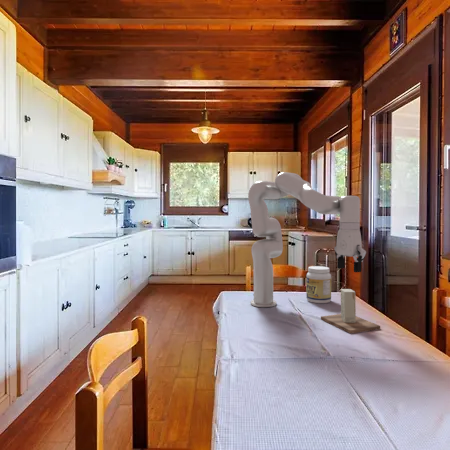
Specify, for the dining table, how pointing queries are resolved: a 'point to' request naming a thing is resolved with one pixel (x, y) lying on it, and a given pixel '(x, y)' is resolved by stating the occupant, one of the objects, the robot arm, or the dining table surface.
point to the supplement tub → (318, 284)
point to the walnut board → (350, 324)
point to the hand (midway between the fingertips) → (349, 270)
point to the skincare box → (348, 306)
